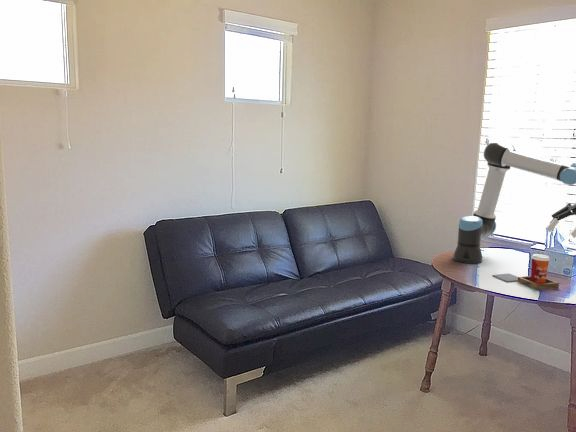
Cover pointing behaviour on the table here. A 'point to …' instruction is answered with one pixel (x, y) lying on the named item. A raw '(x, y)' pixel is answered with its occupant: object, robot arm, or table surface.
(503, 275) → the mat
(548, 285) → the brown square open frame
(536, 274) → the paper cup
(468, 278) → the table surface
